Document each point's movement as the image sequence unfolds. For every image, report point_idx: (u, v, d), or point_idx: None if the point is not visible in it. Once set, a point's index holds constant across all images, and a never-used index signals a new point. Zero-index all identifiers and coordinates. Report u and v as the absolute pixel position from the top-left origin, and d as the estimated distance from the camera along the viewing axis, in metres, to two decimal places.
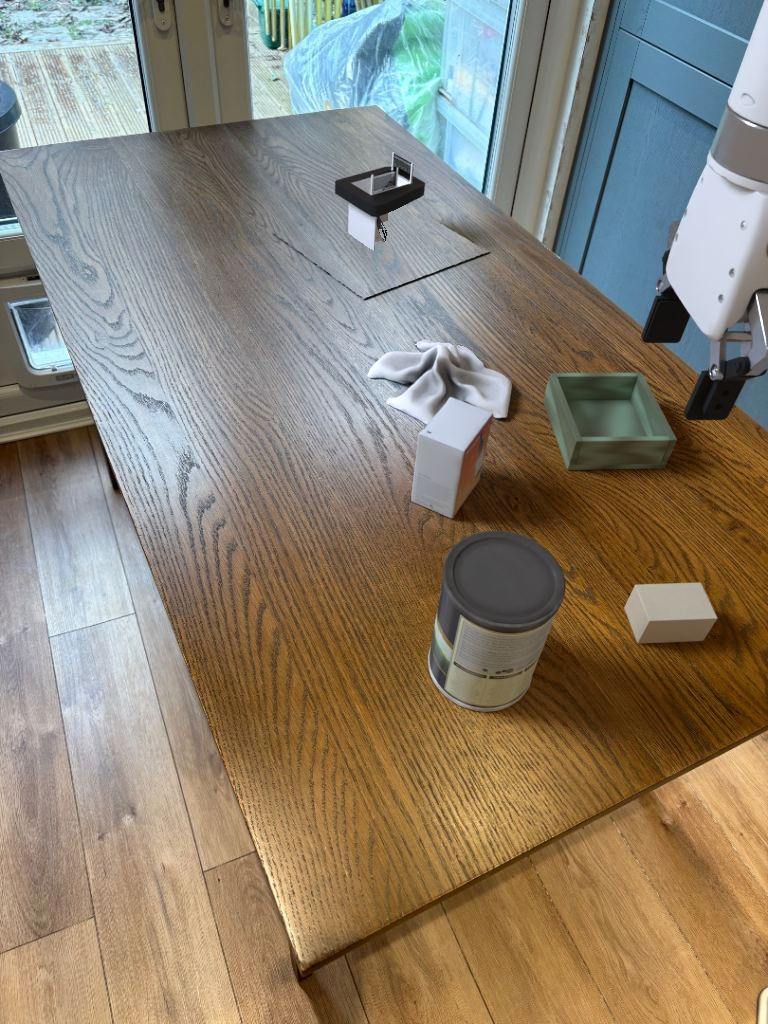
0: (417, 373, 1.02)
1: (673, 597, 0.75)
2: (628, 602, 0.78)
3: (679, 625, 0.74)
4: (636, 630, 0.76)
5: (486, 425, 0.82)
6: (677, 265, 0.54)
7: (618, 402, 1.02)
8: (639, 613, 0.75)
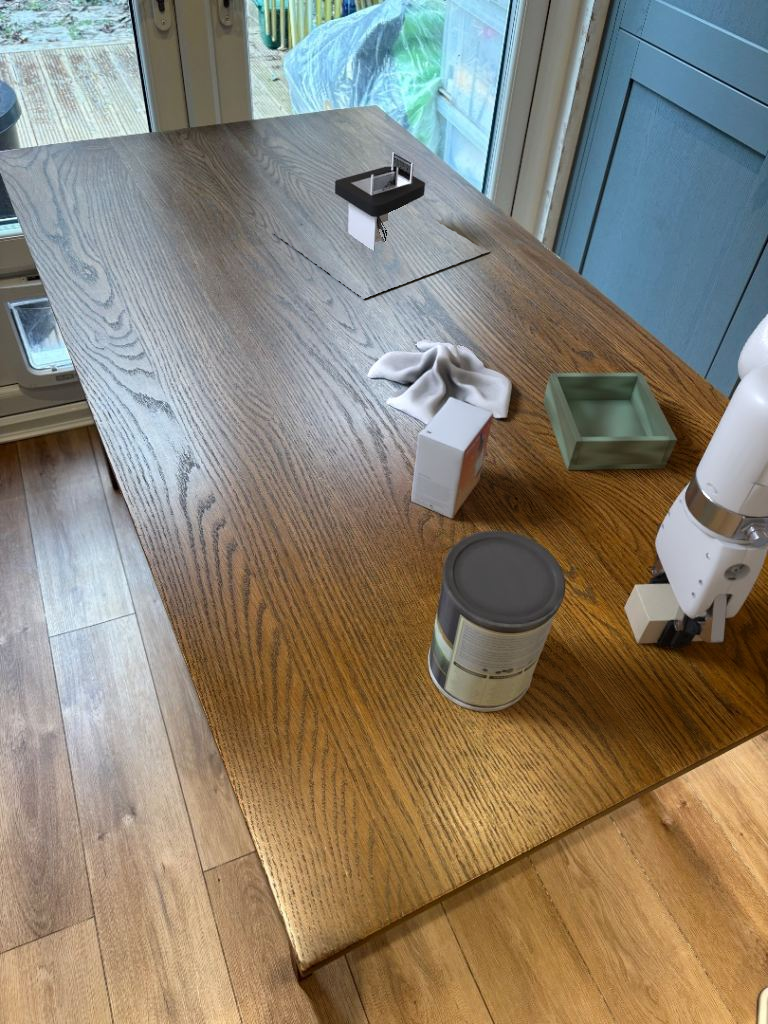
0: (417, 374, 1.02)
1: (673, 597, 0.75)
2: (628, 602, 0.78)
3: None
4: (636, 630, 0.76)
5: (486, 425, 0.82)
6: (663, 548, 0.72)
7: (618, 402, 1.02)
8: (639, 613, 0.75)
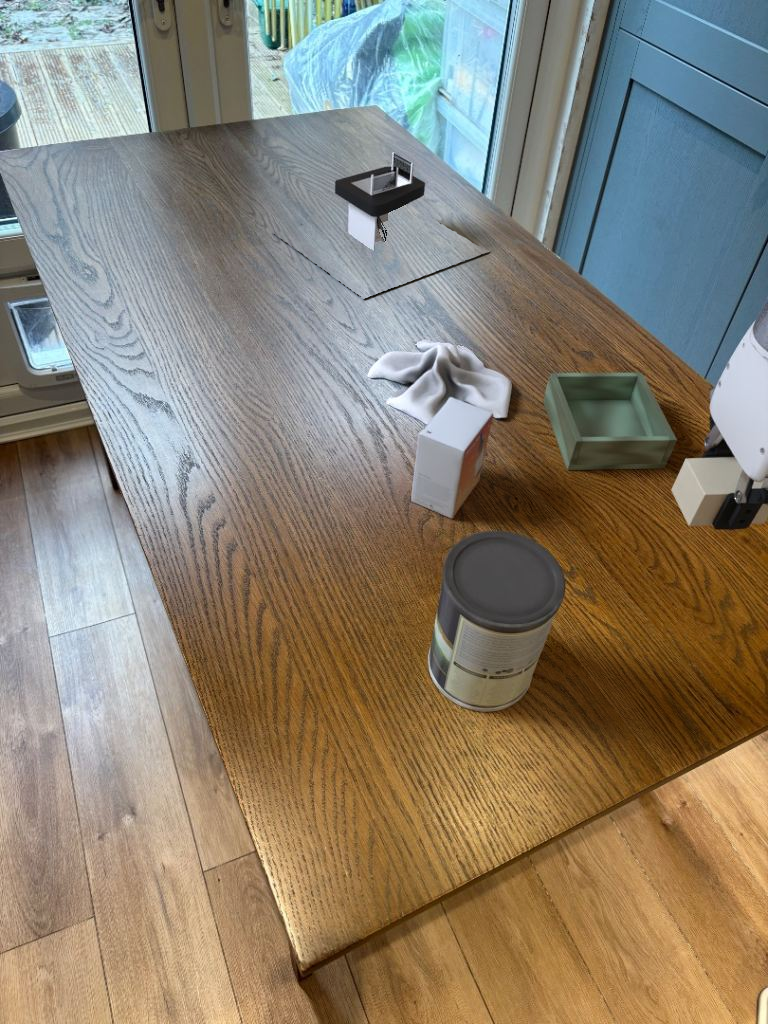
0: (417, 374, 1.02)
1: (731, 471, 0.65)
2: (676, 482, 0.67)
3: None
4: (687, 510, 0.66)
5: (486, 425, 0.82)
6: (721, 408, 0.62)
7: (618, 402, 1.02)
8: (691, 489, 0.65)
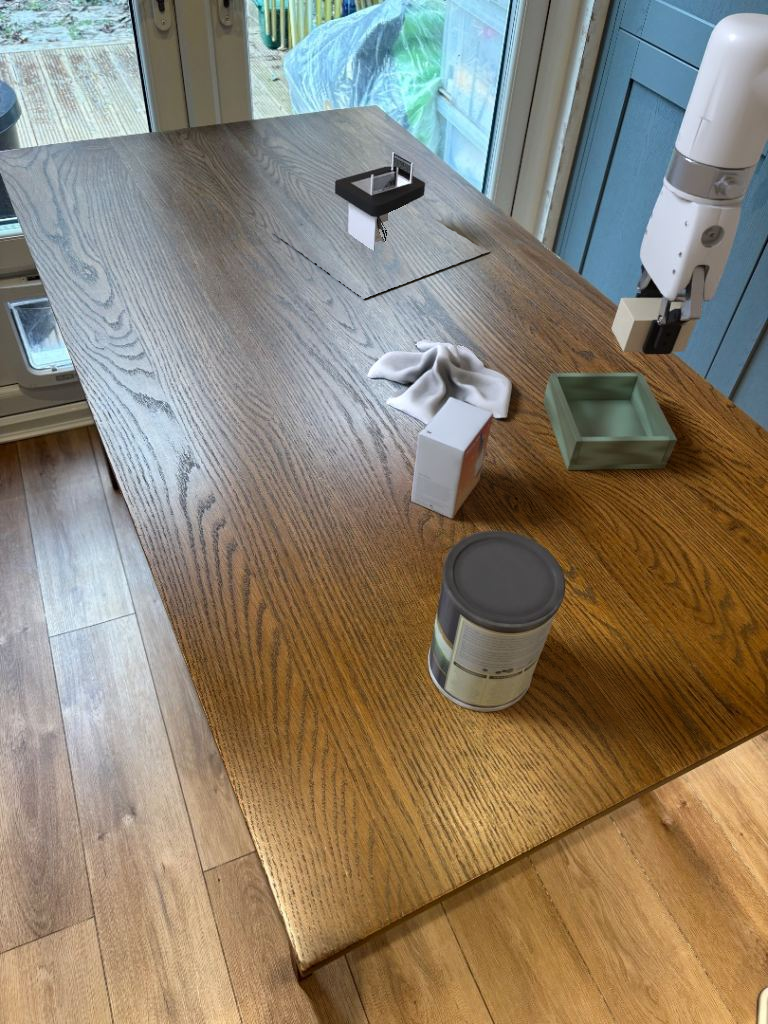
0: (417, 374, 1.02)
1: (656, 306, 0.81)
2: (615, 320, 0.83)
3: None
4: (622, 339, 0.82)
5: (486, 425, 0.82)
6: (647, 251, 0.78)
7: (618, 402, 1.02)
8: (625, 321, 0.81)
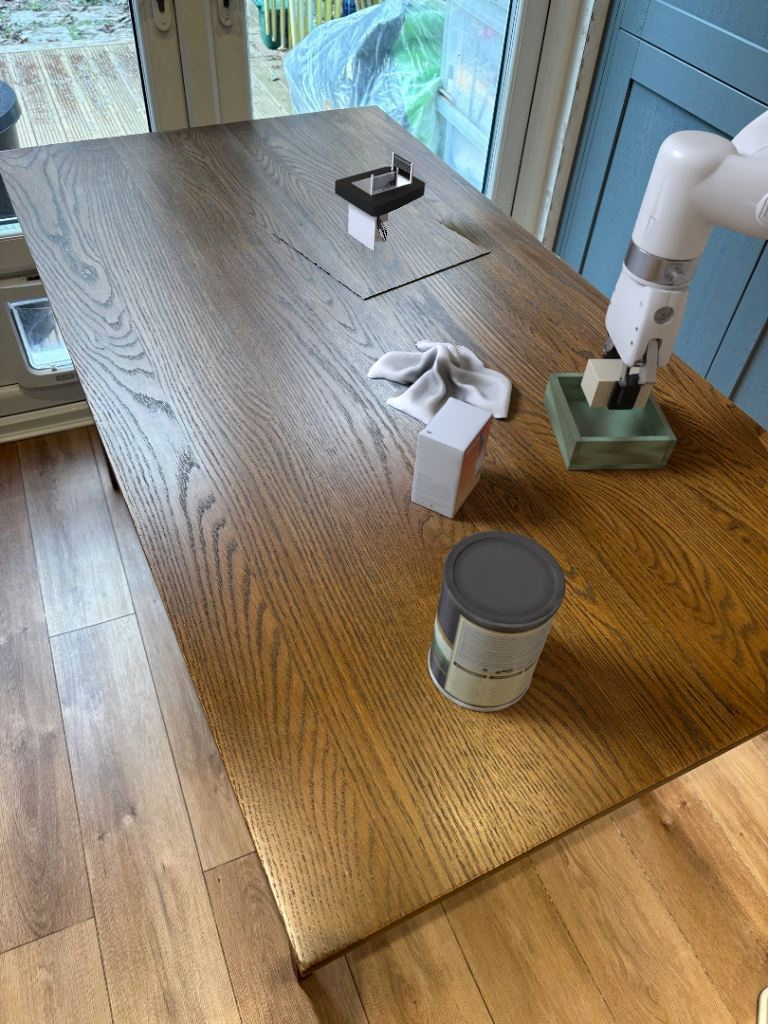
0: (417, 374, 1.02)
1: (620, 367, 0.91)
2: (583, 377, 0.94)
3: None
4: (589, 396, 0.92)
5: (486, 425, 0.82)
6: (610, 320, 0.88)
7: None
8: (591, 380, 0.91)
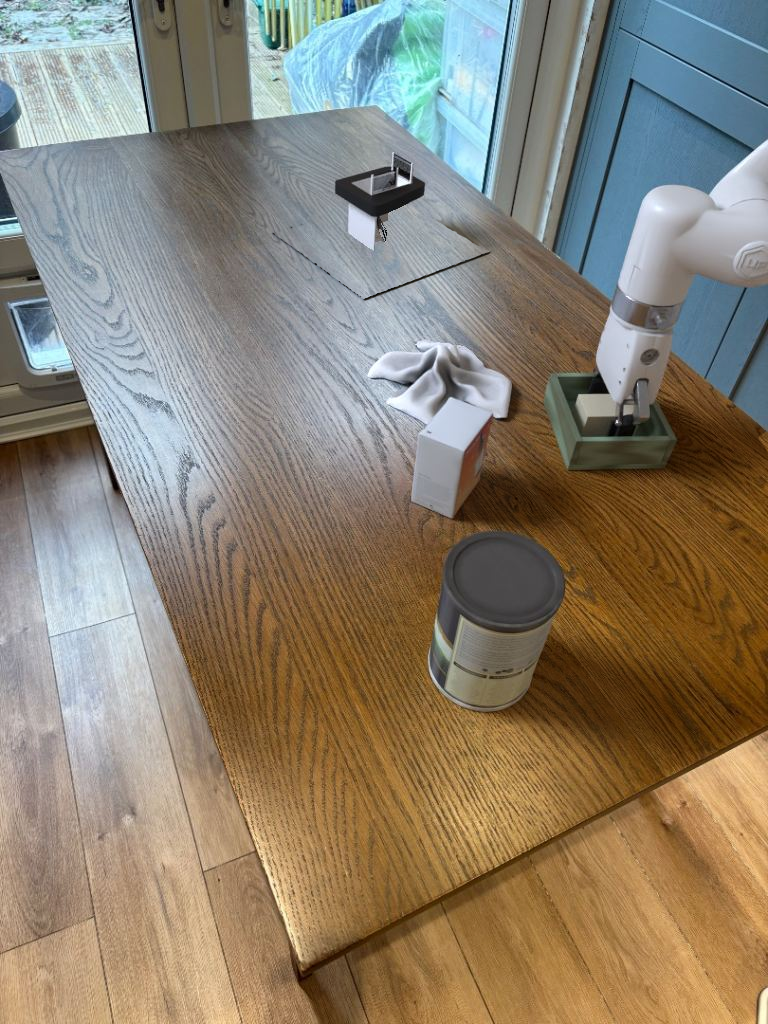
0: (417, 373, 1.02)
1: (608, 402, 0.95)
2: (574, 411, 0.98)
3: None
4: (579, 430, 0.96)
5: (486, 425, 0.82)
6: (600, 358, 0.92)
7: None
8: (581, 414, 0.95)
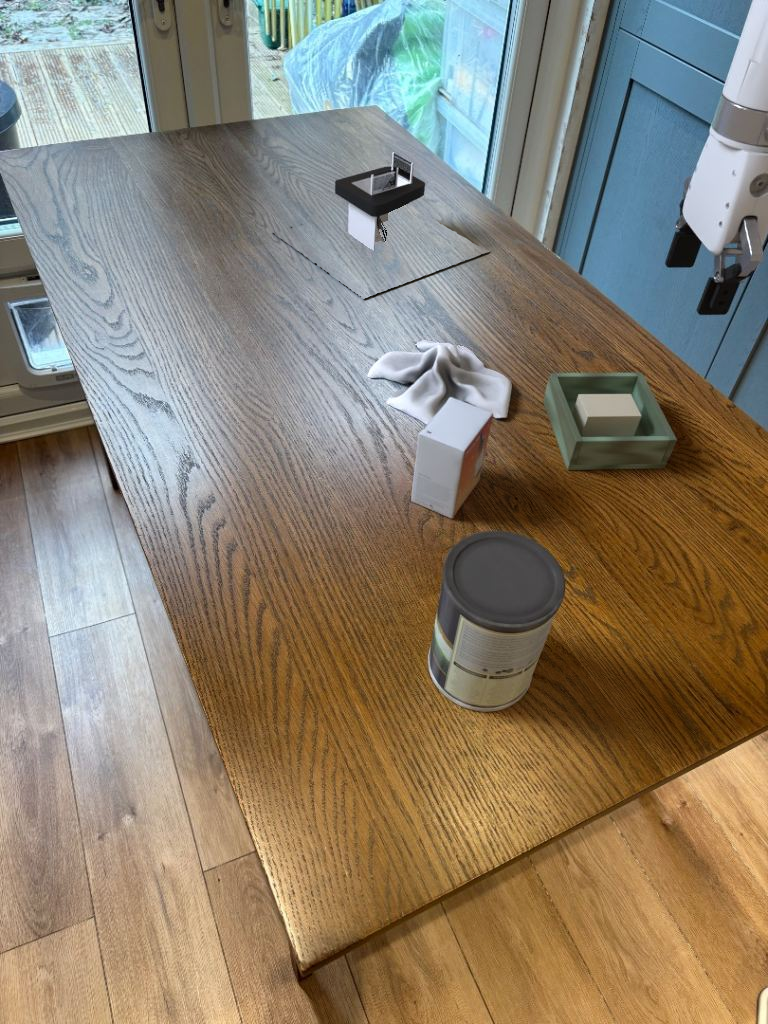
0: (417, 374, 1.02)
1: (608, 402, 0.95)
2: (574, 411, 0.98)
3: (612, 422, 0.94)
4: (579, 430, 0.96)
5: (486, 425, 0.82)
6: (690, 206, 0.77)
7: None
8: (581, 414, 0.95)
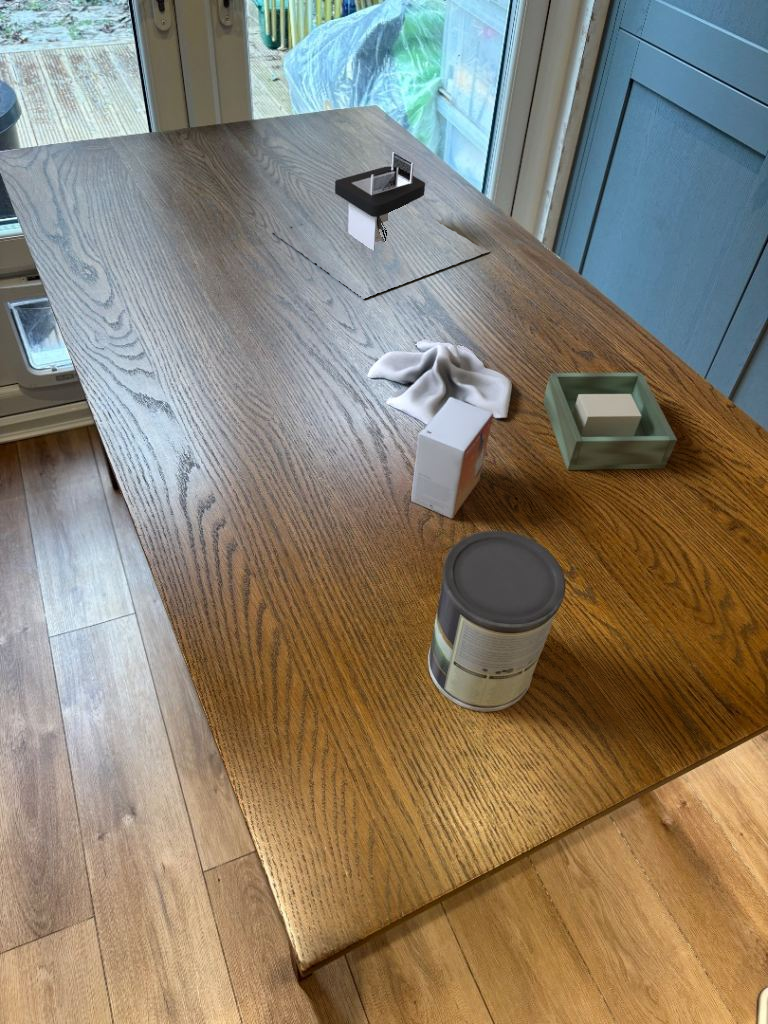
0: (417, 374, 1.02)
1: (608, 402, 0.95)
2: (574, 411, 0.98)
3: (612, 422, 0.94)
4: (579, 430, 0.96)
5: (486, 425, 0.82)
6: None
7: None
8: (581, 414, 0.95)
